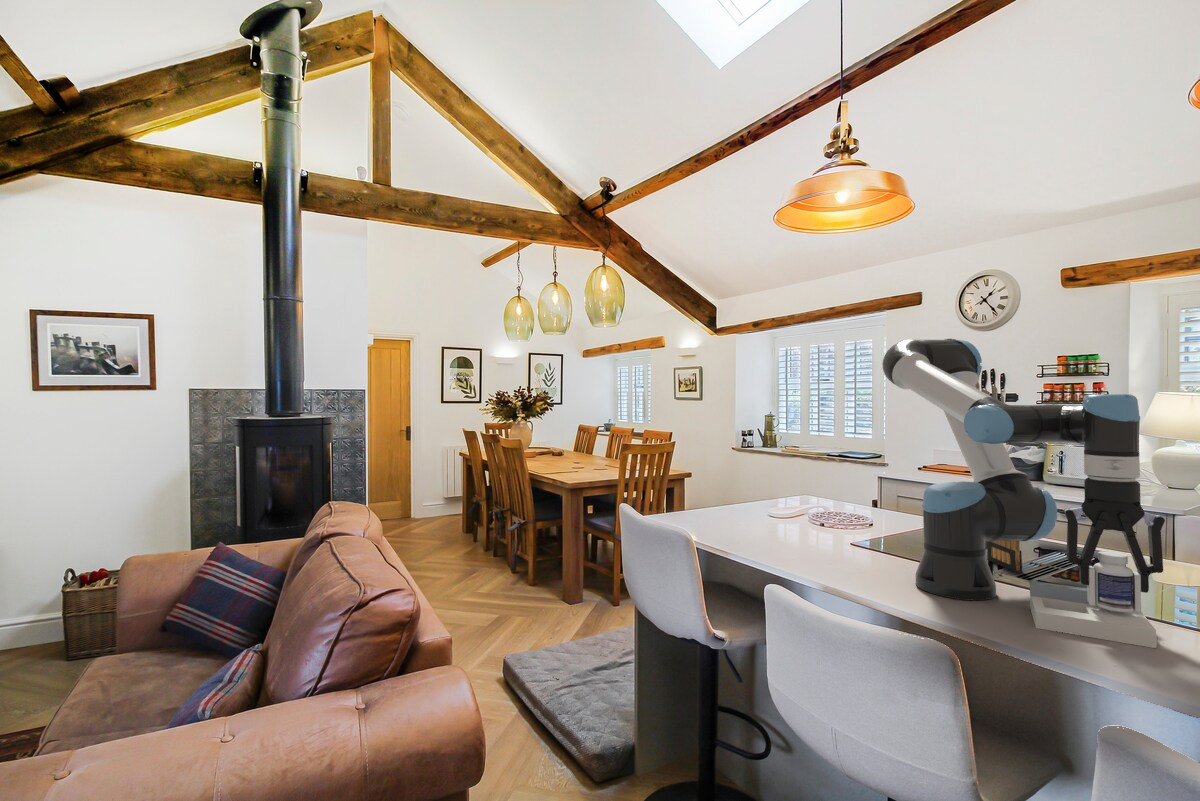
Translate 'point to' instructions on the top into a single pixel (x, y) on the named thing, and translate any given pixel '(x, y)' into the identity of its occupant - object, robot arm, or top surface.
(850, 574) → the top surface
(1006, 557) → the ammunition clip
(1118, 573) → the pill bottle
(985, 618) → the top surface
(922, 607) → the top surface
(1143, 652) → the top surface
